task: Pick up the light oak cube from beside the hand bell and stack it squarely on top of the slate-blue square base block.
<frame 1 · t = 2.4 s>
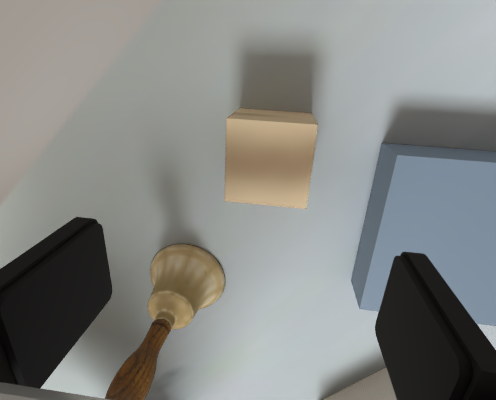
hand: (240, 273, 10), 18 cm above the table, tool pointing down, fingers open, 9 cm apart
slate base: (445, 226, 28), on the table
oak cube: (272, 146, 27), on the table
hand bell: (188, 275, 34), on the table
model: (358, 387, 37), on the table
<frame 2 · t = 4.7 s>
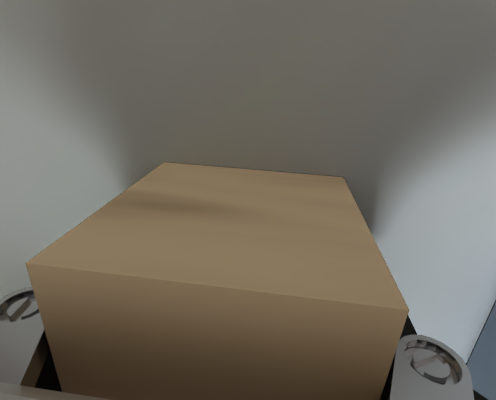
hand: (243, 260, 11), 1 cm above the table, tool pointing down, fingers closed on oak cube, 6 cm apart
oak cube: (246, 246, 11), on the table, touching gripper
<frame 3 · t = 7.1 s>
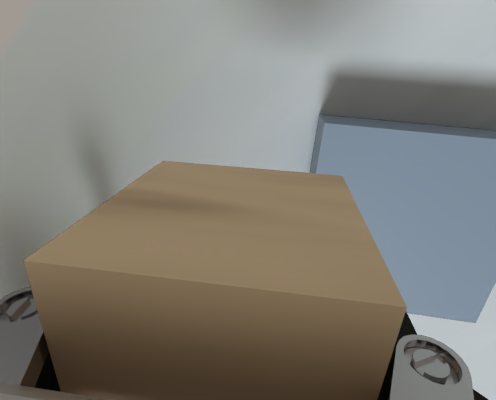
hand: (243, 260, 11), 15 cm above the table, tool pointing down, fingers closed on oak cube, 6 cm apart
slate base: (390, 209, 25), on the table
oak cube: (246, 245, 11), point 15 cm above the table, touching gripper
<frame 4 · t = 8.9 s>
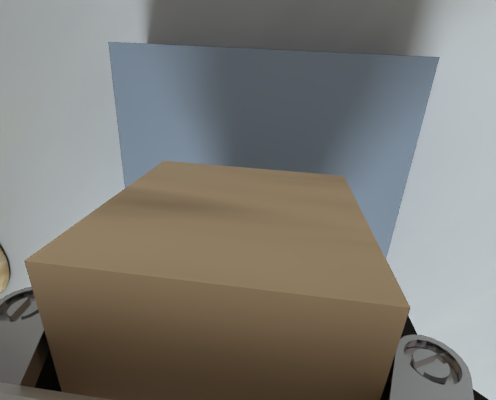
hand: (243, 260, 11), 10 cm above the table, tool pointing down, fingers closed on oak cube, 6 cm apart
slate base: (262, 176, 19), on the table
oak cube: (247, 245, 11), point 9 cm above the table, touching gripper
when the fingers open (6 cm above the table, at t = 10.0 s): oak cube drops 1 cm, resting on slate base.
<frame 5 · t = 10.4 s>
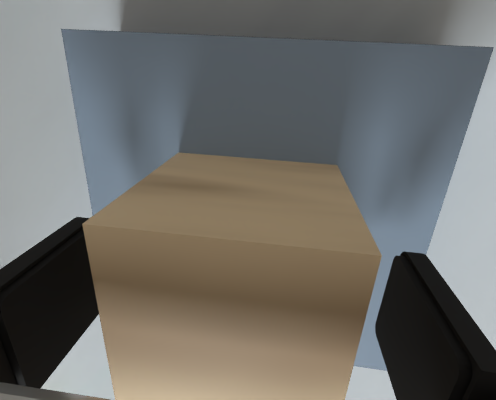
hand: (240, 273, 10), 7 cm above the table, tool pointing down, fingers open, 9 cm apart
slate base: (260, 192, 16), on the table
oak cube: (251, 228, 13), point 4 cm above the table, touching slate base
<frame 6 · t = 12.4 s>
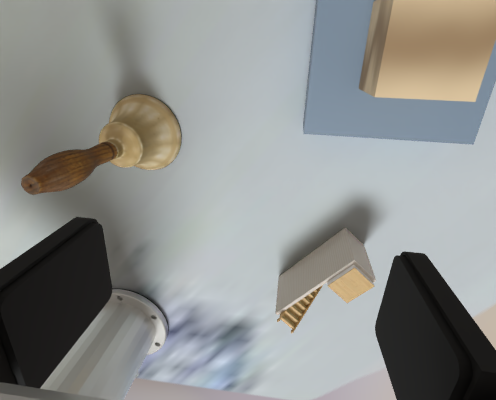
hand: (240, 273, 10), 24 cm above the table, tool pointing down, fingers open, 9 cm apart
slate base: (391, 49, 27), on the table
oak cube: (406, 48, 24), point 4 cm above the table, touching slate base
hand bell: (146, 133, 34), on the table
model: (318, 258, 38), on the table
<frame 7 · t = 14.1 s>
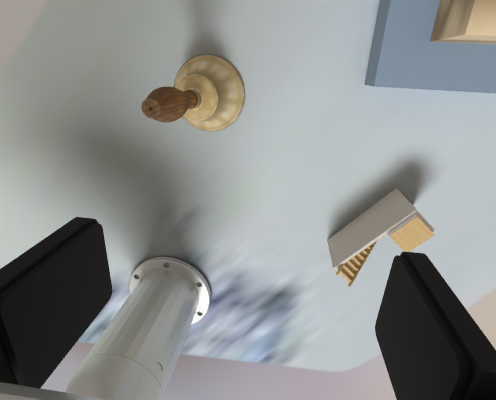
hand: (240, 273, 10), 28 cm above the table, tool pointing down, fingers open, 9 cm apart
slate base: (454, 10, 29), on the table
oak cube: (477, 3, 26), point 4 cm above the table, touching slate base
hand bell: (209, 94, 36), on the table
model: (367, 221, 40), on the table
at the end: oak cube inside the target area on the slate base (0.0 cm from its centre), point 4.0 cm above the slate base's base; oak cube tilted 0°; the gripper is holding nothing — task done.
